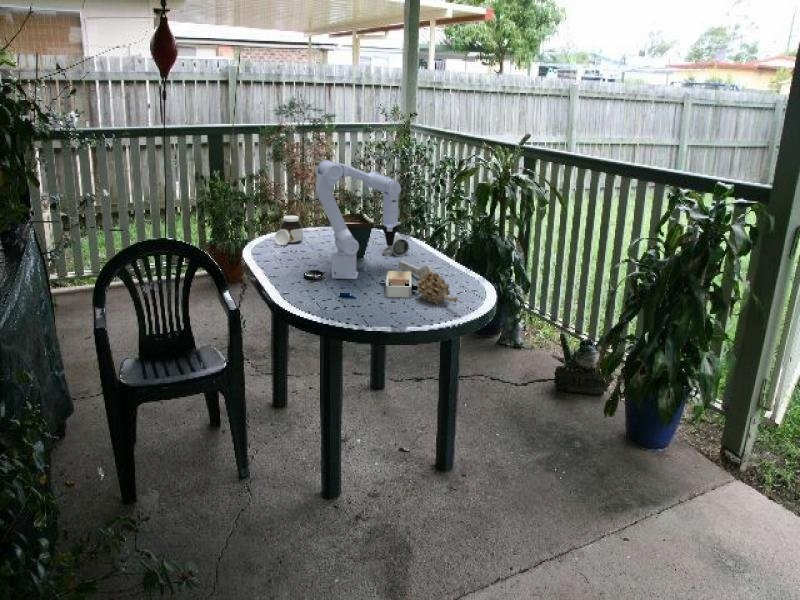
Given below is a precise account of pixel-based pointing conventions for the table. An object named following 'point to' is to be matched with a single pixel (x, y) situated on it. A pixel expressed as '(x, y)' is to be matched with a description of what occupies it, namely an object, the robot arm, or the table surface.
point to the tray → (398, 289)
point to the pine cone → (434, 288)
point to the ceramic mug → (397, 247)
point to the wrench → (415, 268)
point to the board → (399, 275)
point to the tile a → (398, 281)
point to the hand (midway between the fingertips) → (389, 245)
